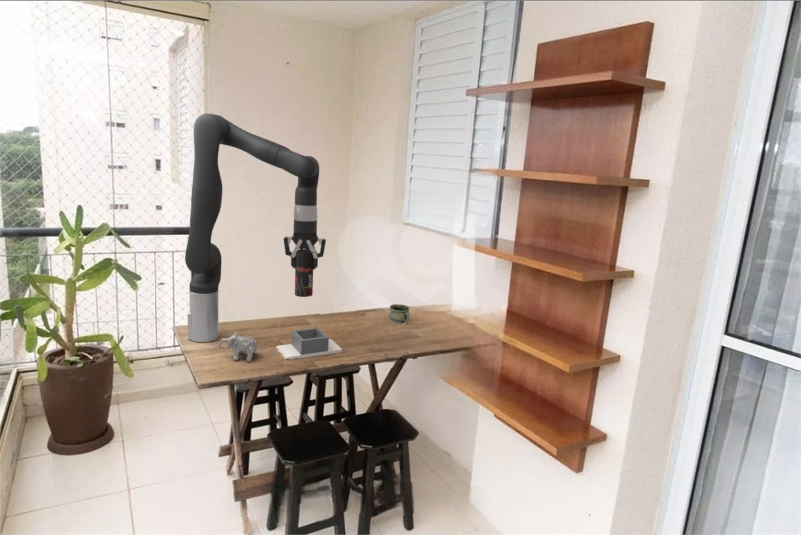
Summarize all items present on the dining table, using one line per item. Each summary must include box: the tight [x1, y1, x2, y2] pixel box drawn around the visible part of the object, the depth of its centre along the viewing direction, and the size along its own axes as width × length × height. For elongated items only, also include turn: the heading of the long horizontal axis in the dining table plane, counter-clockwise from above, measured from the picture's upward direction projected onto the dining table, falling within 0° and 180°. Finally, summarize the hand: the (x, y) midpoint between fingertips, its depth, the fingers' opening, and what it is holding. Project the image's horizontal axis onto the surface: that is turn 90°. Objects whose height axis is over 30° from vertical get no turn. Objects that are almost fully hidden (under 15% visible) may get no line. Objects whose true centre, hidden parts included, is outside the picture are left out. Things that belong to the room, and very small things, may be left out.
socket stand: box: [275, 327, 343, 360], centre depth 172 cm, size 20×10×6 cm, turn 121°
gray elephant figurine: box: [217, 331, 258, 363], centre depth 162 cm, size 9×12×8 cm
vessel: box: [388, 303, 411, 325], centre depth 209 cm, size 12×9×6 cm
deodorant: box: [294, 249, 314, 298], centre depth 169 cm, size 6×6×15 cm
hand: (304, 268), depth 168 cm, fingers closed on deodorant, 6 cm apart
